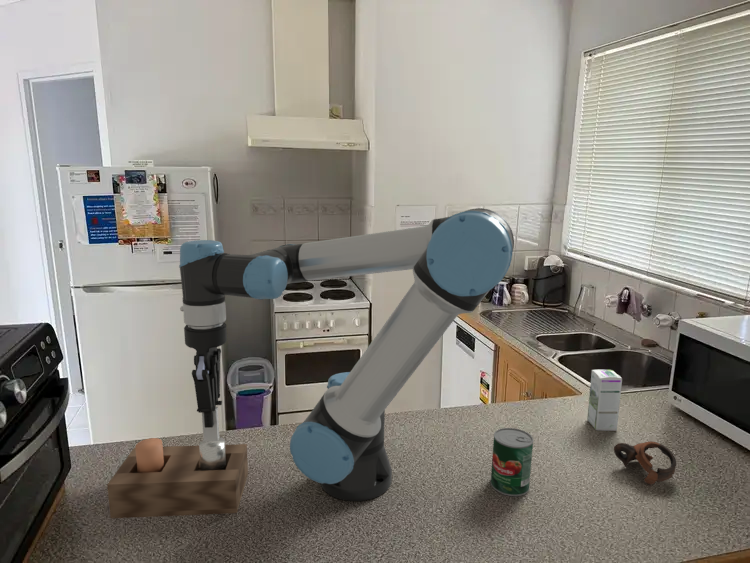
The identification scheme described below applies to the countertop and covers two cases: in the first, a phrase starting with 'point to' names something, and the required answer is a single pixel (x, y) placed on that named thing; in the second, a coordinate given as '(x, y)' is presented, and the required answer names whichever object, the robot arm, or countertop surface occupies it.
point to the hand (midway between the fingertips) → (211, 439)
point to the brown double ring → (646, 459)
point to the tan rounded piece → (149, 455)
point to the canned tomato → (511, 461)
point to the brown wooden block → (179, 485)
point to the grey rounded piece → (212, 455)
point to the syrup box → (604, 400)
